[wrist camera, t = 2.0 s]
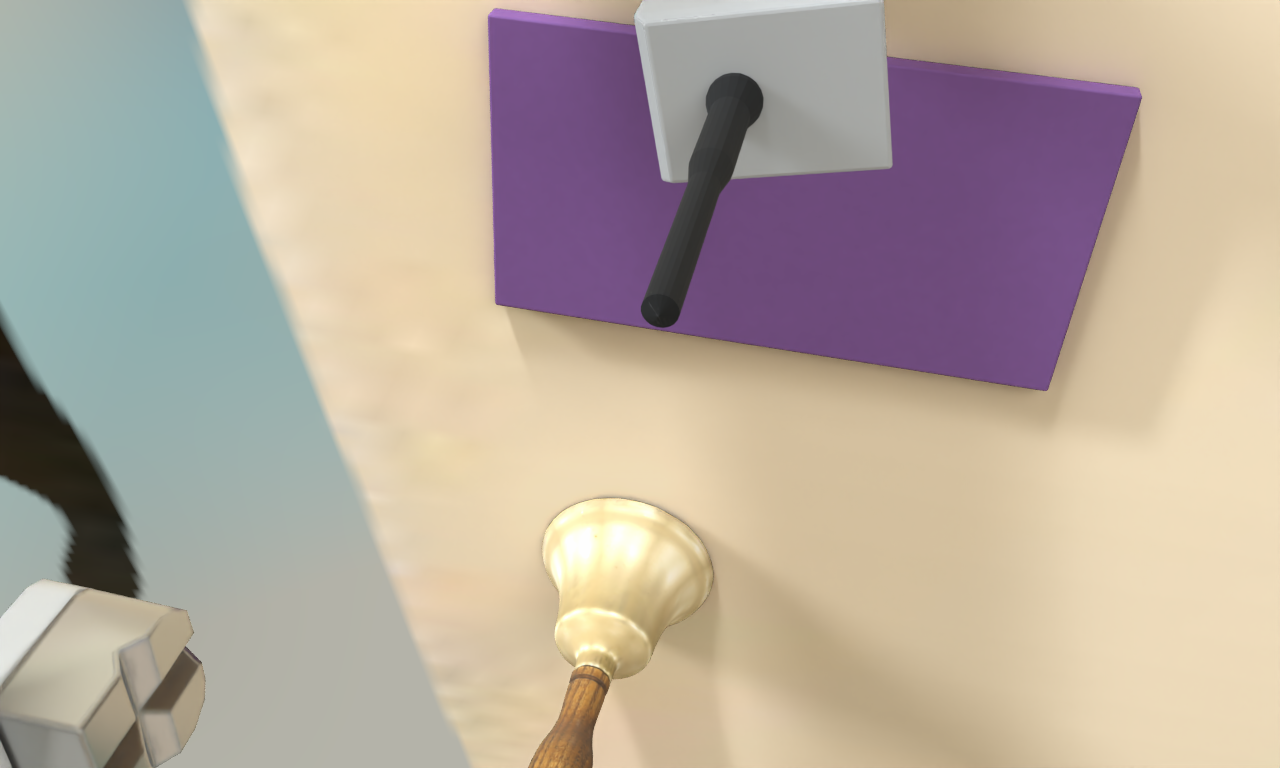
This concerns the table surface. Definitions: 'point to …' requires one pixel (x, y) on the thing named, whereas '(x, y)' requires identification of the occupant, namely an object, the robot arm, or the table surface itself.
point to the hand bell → (613, 605)
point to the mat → (810, 211)
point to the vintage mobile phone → (755, 106)
